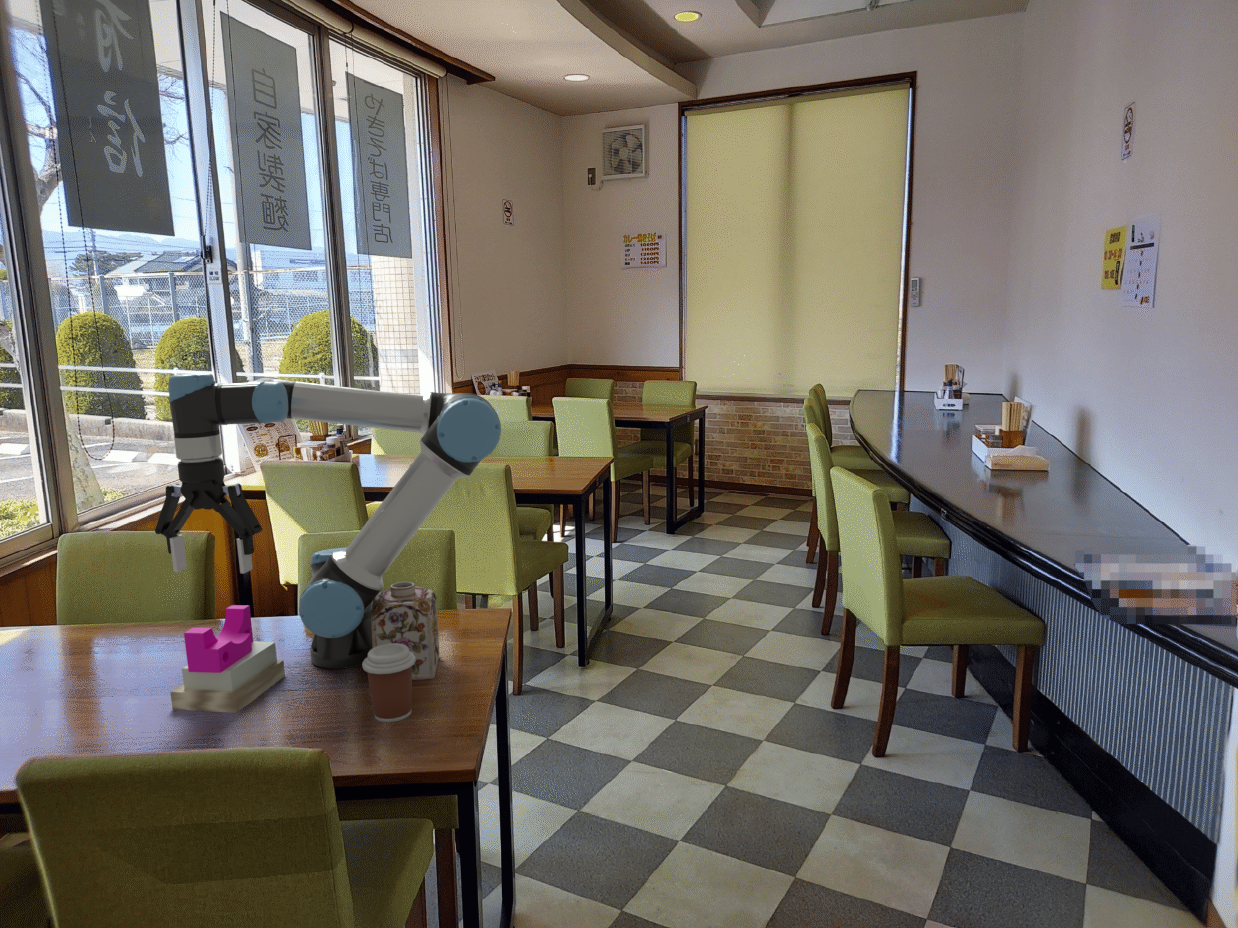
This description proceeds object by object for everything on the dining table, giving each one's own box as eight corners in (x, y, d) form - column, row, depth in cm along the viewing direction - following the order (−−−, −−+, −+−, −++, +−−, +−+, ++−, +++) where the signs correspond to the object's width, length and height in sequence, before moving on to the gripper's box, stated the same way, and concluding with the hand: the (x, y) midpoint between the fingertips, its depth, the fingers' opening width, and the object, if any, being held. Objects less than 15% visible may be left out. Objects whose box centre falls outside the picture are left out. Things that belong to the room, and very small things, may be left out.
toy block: (220, 672, 152) (215, 633, 151) (188, 671, 153) (183, 632, 152) (265, 641, 167) (261, 605, 166) (235, 641, 168) (231, 605, 167)
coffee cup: (393, 698, 157) (388, 637, 155) (430, 708, 152) (425, 645, 150) (355, 718, 149) (350, 654, 147) (393, 730, 144) (387, 664, 142)
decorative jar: (374, 684, 163) (367, 595, 160) (383, 660, 175) (376, 577, 172) (436, 679, 165) (431, 591, 162) (441, 656, 176) (436, 573, 173)
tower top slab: (277, 661, 167) (275, 642, 167) (232, 691, 154) (230, 670, 153) (232, 658, 169) (229, 639, 168) (184, 688, 156) (181, 668, 155)
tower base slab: (285, 678, 169) (283, 659, 168) (237, 715, 153) (234, 695, 152) (226, 675, 171) (224, 657, 170) (172, 712, 155) (170, 691, 154)
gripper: (274, 455, 155) (285, 565, 159) (153, 455, 159) (166, 563, 163) (250, 461, 148) (263, 577, 151) (124, 462, 152) (139, 575, 156)
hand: (213, 570), depth 157 cm, fingers open, 13 cm apart
